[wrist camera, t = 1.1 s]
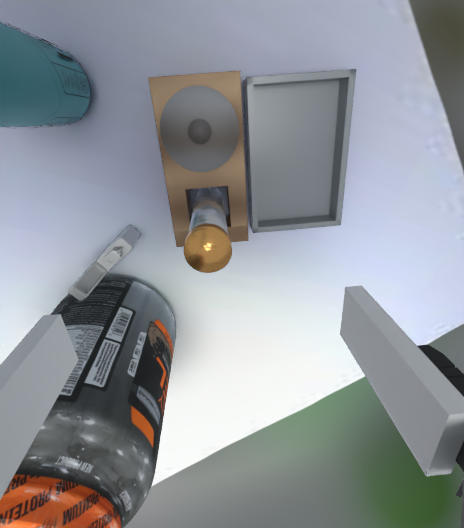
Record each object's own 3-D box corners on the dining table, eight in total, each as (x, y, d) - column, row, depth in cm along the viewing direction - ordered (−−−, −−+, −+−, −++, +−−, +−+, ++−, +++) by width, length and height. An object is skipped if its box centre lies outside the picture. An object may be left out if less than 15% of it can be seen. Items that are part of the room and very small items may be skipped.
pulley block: (155, 82, 29) (141, 73, 23) (236, 76, 29) (242, 65, 23) (180, 234, 36) (174, 256, 30) (244, 228, 36) (251, 249, 30)
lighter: (130, 224, 35) (109, 251, 28) (141, 234, 36) (124, 263, 29) (92, 260, 37) (64, 294, 30) (104, 269, 38) (78, 304, 30)
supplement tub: (156, 374, 46) (101, 631, 23) (51, 344, 42) (-141, 617, 19) (195, 295, 40) (174, 534, 17) (77, 252, 36) (-156, 487, 13)
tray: (243, 80, 29) (246, 77, 27) (343, 73, 30) (356, 68, 27) (250, 225, 36) (253, 232, 34) (331, 217, 36) (340, 225, 34)
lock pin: (192, 185, 34) (180, 231, 20) (222, 183, 34) (229, 226, 20) (196, 214, 35) (187, 274, 22) (224, 212, 35) (233, 270, 22)
